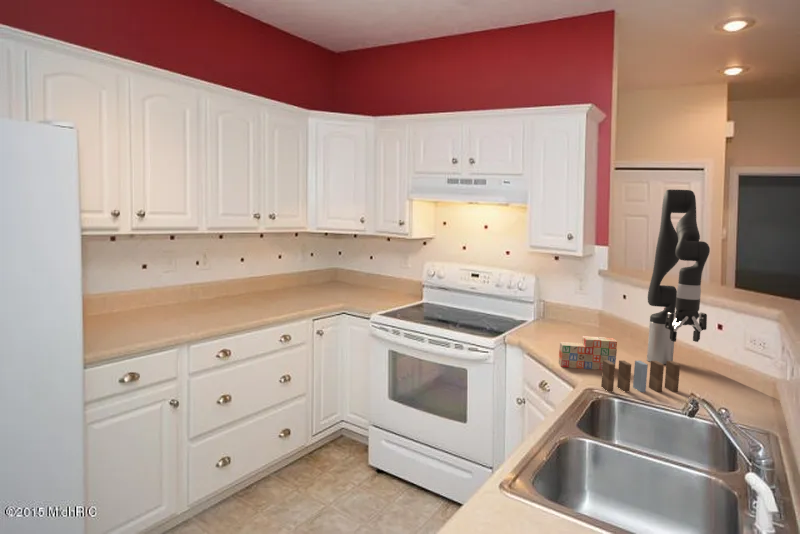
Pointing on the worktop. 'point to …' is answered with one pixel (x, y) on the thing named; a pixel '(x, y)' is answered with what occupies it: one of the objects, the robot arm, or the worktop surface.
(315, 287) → the worktop surface
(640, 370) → the domino
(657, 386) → the domino
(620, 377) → the domino
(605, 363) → the domino end
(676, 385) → the domino
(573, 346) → the stack of blocks
